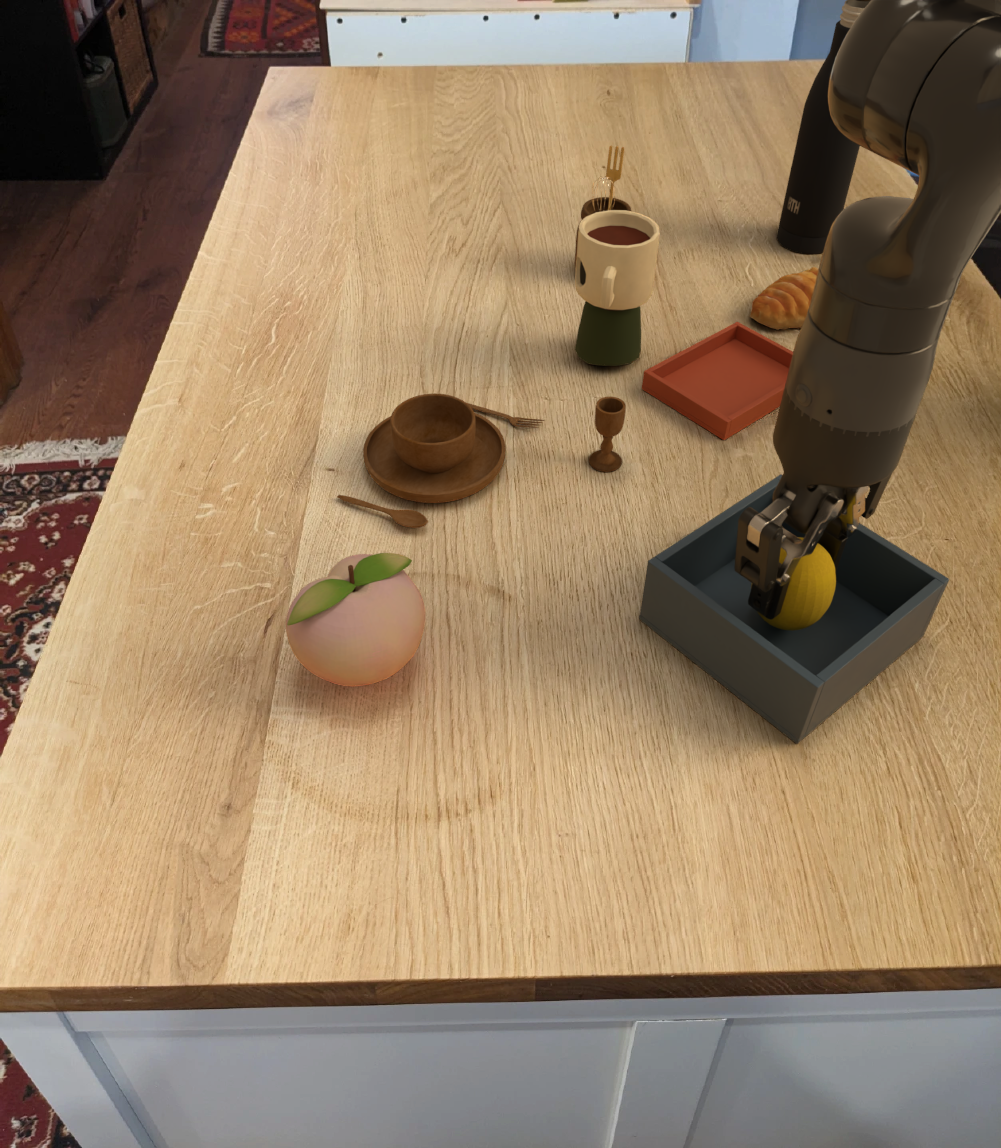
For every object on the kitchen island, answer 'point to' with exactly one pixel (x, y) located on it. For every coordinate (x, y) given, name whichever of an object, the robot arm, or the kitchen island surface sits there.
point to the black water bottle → (819, 159)
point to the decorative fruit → (358, 620)
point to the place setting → (454, 450)
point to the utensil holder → (605, 202)
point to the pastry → (785, 301)
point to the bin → (788, 657)
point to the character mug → (614, 284)
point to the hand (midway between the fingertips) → (792, 588)
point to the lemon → (806, 591)
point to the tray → (723, 379)
